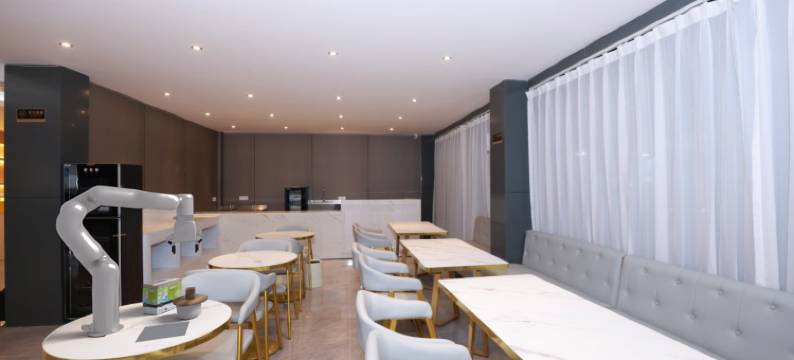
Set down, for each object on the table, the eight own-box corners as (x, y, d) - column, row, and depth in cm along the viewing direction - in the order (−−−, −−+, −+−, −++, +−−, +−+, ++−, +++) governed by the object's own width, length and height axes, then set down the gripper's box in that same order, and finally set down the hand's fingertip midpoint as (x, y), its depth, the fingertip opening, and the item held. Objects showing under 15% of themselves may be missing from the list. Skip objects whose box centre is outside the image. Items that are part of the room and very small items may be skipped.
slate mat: (135, 343, 162) (135, 342, 162) (145, 328, 178) (145, 326, 178) (184, 336, 168) (184, 335, 168) (189, 322, 185) (189, 321, 185)
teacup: (190, 323, 184) (190, 305, 184) (170, 321, 187) (170, 304, 186) (210, 312, 198) (210, 296, 198) (191, 311, 200) (191, 295, 200)
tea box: (157, 315, 195) (157, 285, 195) (142, 313, 198) (141, 284, 198) (182, 305, 209) (182, 278, 209) (167, 304, 212) (167, 276, 212)
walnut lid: (170, 307, 182) (170, 294, 182) (175, 298, 196) (175, 286, 196) (206, 303, 188) (206, 290, 188) (208, 294, 202) (208, 282, 202)
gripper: (163, 220, 190) (164, 255, 190) (203, 218, 196) (204, 253, 196) (166, 218, 197) (166, 253, 197) (204, 217, 203) (205, 250, 203)
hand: (185, 253), depth 197 cm, fingers open, 9 cm apart
